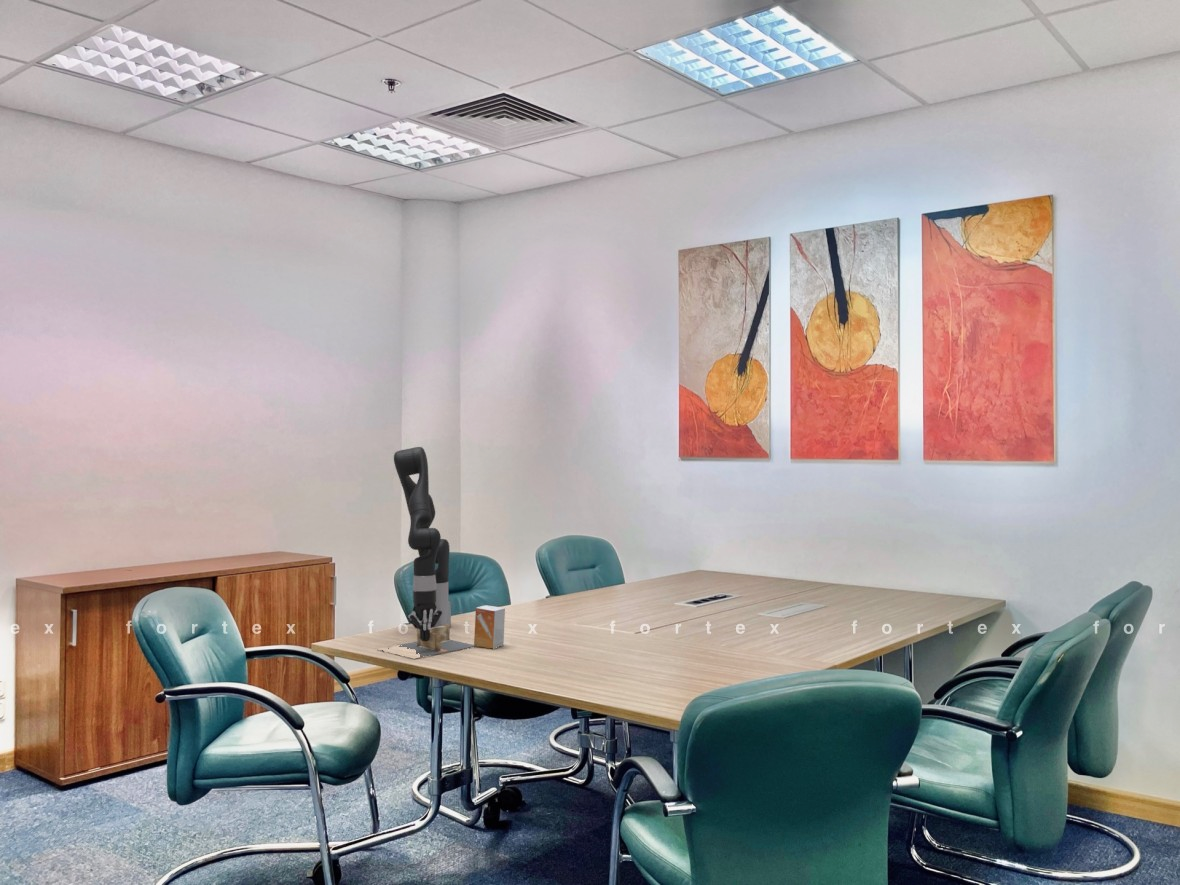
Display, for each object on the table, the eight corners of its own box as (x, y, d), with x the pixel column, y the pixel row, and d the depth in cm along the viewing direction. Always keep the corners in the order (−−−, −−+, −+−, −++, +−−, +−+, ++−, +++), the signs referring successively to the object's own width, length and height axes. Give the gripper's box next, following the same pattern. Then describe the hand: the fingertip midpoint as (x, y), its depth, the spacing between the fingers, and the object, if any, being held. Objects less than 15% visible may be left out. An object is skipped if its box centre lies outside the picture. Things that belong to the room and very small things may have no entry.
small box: (473, 645, 329) (475, 607, 329) (484, 642, 335) (486, 604, 334) (493, 649, 325) (494, 610, 325) (504, 645, 331) (505, 607, 330)
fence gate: (419, 645, 329) (419, 630, 329) (424, 644, 330) (424, 629, 330) (436, 650, 320) (436, 634, 320) (441, 649, 322) (441, 633, 322)
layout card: (439, 638, 344) (439, 636, 344) (477, 646, 329) (477, 645, 329) (376, 650, 325) (376, 648, 325) (413, 659, 311) (413, 657, 311)
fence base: (447, 639, 340) (447, 623, 340) (450, 640, 338) (450, 623, 338) (415, 645, 330) (415, 628, 330) (419, 646, 329) (419, 629, 329)
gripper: (434, 585, 329) (434, 636, 329) (401, 589, 320) (401, 642, 320) (447, 587, 324) (448, 639, 324) (414, 591, 314) (414, 645, 314)
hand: (424, 641), depth 322 cm, fingers closed
